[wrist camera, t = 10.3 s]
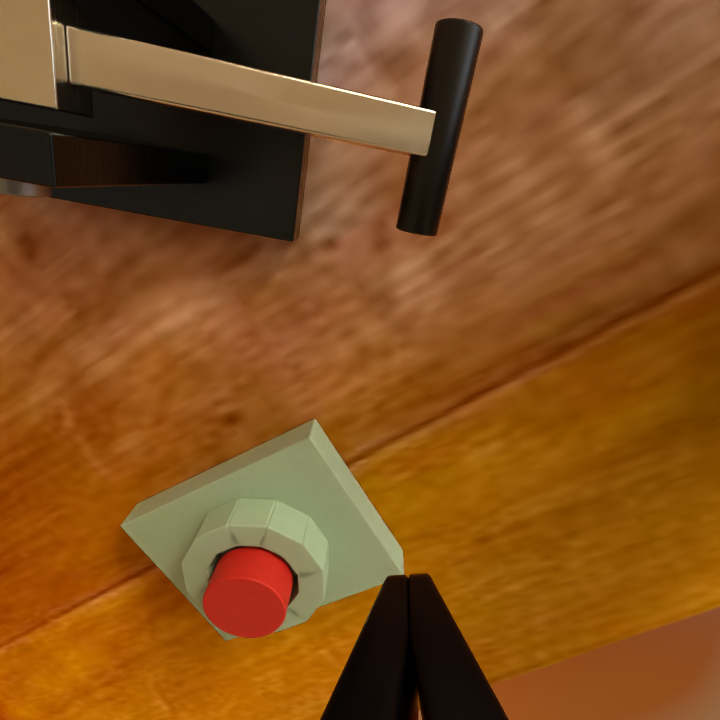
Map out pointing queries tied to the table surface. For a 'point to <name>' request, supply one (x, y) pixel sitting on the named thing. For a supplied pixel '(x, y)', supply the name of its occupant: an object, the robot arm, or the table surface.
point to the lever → (245, 92)
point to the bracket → (177, 124)
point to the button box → (272, 523)
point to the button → (248, 592)
